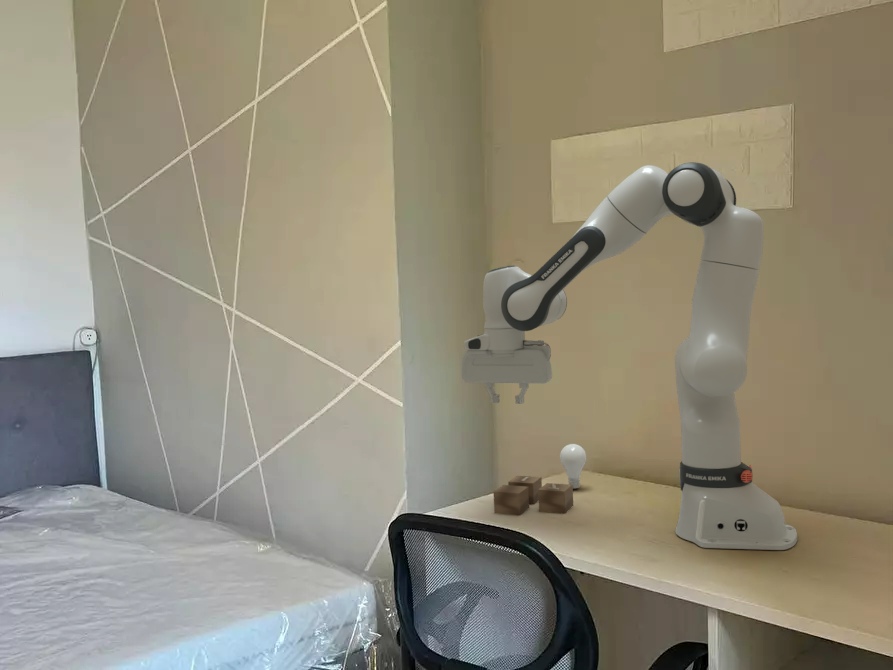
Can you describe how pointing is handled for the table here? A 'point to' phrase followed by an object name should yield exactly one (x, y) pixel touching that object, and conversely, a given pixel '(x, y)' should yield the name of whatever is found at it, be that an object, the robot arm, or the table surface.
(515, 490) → the plain block
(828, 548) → the table surface
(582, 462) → the lightbulb
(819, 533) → the table surface
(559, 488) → the numbered block 7
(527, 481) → the numbered block 1
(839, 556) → the table surface
